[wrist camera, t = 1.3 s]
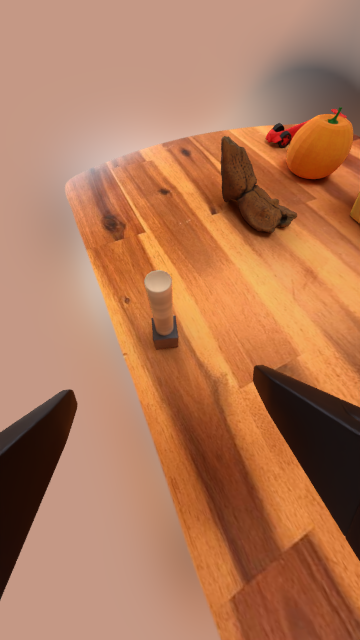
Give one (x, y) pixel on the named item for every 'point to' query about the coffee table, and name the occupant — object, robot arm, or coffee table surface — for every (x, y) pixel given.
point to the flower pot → (356, 210)
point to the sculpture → (249, 190)
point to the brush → (161, 309)
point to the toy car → (287, 132)
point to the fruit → (320, 146)
